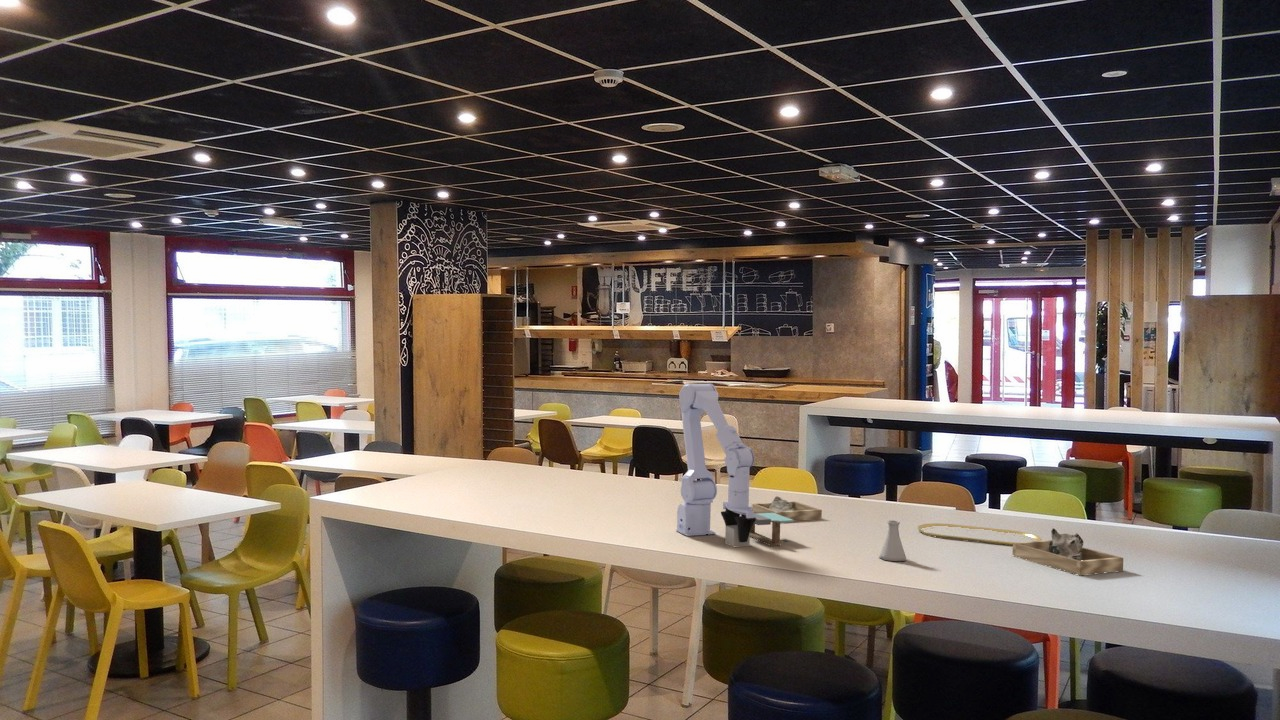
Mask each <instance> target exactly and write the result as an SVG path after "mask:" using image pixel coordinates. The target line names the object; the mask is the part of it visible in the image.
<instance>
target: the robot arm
mask: <svg viewBox="0 0 1280 720" xmlns="http://www.w3.org/2000/svg"><path fill="white" fill-rule="evenodd" d="M719 394H720V393H719V392H718V391H717V388H716V386H715V385H714V384H713V383H685V384H683V386H682V387H681V389H680V391H679V392H678V396H679V397H678V398H679V405H680V407H679V408H680V414H681V422H682V430H683V439H684V446H685V457H686V464H687V471H686V472H685V474H684V475H683V476H682V477H681V480H680V481H681V487H680V495H681V498H682V499H683V501H684V503H680V504H678V507H677V513H676V514H677V515H676V518H677V519H676V521H677V522H676V529H675V531H676V532H678V533H680V534H682V535H685V536H686V537H688V536H689V537H693V536H704V535H706V534H708V535H716V531H713V530H711V511H712V510H711V508H712V503H714V499H716V497H717V495H718V488H717V484H716V482H715V479H714V475H713V473H711V472H710V471H709V470H708V469H707V464H706V455H705V448H704V441H703V434H702V433H703V432H702V425H701V424H702V423H701V415H702V414H703V413H706V414H707V416H708V417H709V419H710V421H711V422H712V424H713V426H714V427H715V429H716V431H717V432H716V435H715V437H716V439H717V440H718V442H719V444H720V446H721V448H722V450H723V451H724V453H725V456H724V463H725V466H726V472H727V475H728V491H727V492H728V495H727V497H728V498H727V501H724V502H723V503H722V509H723V510H721V511H720V515H721V517H722V519H723V522H724V526H725V527H726V526H728V525H737V526H738V533H739V541H740V542H747V540H748V537H749V533H750V530H751V527H752V525H753V524H754V522H755V521H756V518H755V517H754V511H753V510H751V509H752V506H751V505H749V503H750V502H749V501H750V499H749V498H750V468H752V466H753V465H754V463H755V454H754V452H753V449H752V448H751V447H749V446H747V445H746V444H744V443H743V441H742V439H741V437H740V436H739V433H738V431H737V429H736V427H735V426H733V425H730V424H728V421H727V419H726V417H725V415H724V412H723V410H722V408H721V406H720V403H719V401H718V400H719ZM706 536H707V535H706Z"/></svg>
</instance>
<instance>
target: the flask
mask: <svg viewBox="0 0 1280 720" xmlns="http://www.w3.org/2000/svg"><path fill="white" fill-rule="evenodd" d="M887 524H888V527H887V528H888V529H887V534H886V538H885V540H884V543H883V546H882V548H881V551H880V553H879V557H878V558H880V559H882V560H883V561H889V562H890V561H891V562H905V561H907V556H906V553H905V550H904V547H903V544H902V540H901V536H900V529H899V527H900V526H899V525H900V524H901V523H900V521H899V520H891V519H890V520H887Z"/></svg>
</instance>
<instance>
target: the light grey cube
mask: <svg viewBox="0 0 1280 720" xmlns="http://www.w3.org/2000/svg"><path fill="white" fill-rule="evenodd" d="M724 537H725V538H724V543H725V544H726V543H727V544H726V545H728V544H730V545H731V546H730V545H729V546H730V547H733V546H740V547H748V546H747V545H750V544H751V543H750V542H751V540H750V539H751V537H750V533H749V537H748V540H747V542H740V541H739V533H738V526H737V525H728V526H726V525H725V536H724Z"/></svg>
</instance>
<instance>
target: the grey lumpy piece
mask: <svg viewBox="0 0 1280 720" xmlns="http://www.w3.org/2000/svg"><path fill="white" fill-rule="evenodd" d="M1050 534H1051V535H1050V536H1051V540H1053V541H1050V543H1049V552H1050V553H1054V554H1057V555H1061V556H1065V557H1068V558H1072V559H1075V560H1079V561H1081V555H1082V547H1083V546H1084V540H1083V538H1082V537H1081V535H1079V533H1077V532H1076V533H1075V534H1070V533H1069V534H1068V533H1059V532H1058V531H1057V530H1056V529H1055V528H1051V531H1050ZM1079 552H1080V553H1079ZM1078 553H1079V554H1078Z"/></svg>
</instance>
